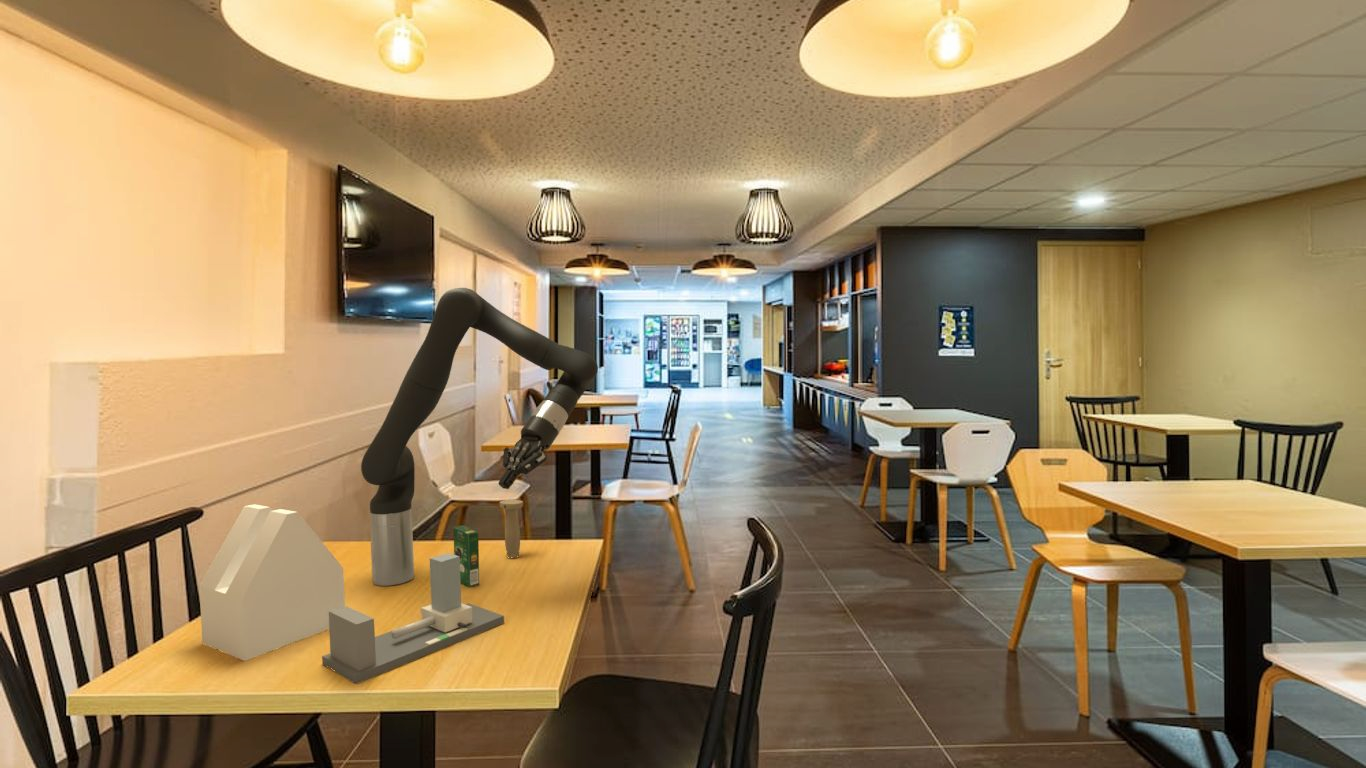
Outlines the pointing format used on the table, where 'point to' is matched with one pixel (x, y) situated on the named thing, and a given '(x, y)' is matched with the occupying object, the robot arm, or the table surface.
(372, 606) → the table surface
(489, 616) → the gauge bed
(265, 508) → the white house-shaped block
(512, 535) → the handle
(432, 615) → the gauge slider
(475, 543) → the coffee box
